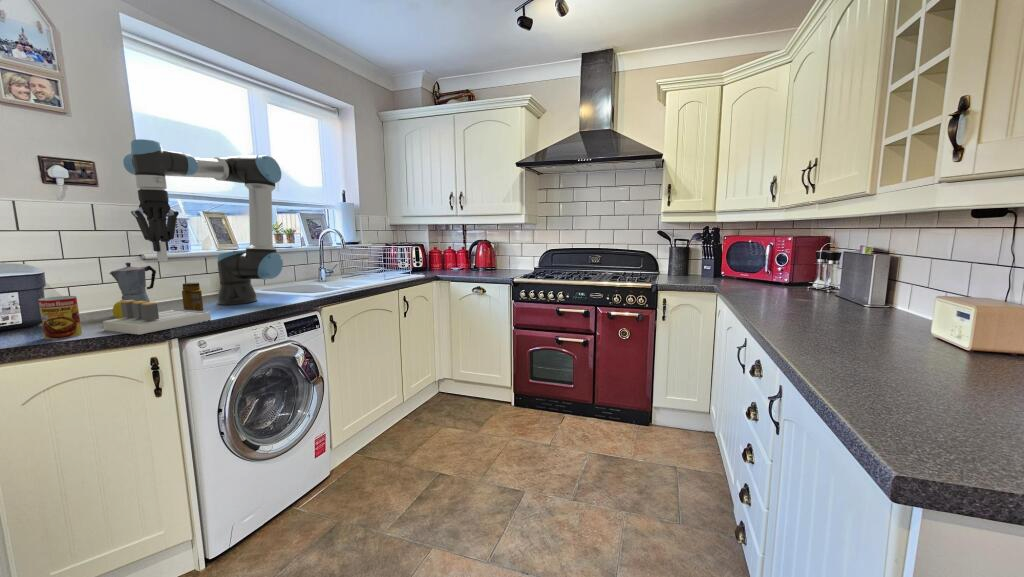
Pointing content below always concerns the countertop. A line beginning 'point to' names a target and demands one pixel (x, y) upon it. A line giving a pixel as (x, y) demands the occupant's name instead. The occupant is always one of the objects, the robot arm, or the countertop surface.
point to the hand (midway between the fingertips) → (162, 261)
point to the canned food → (60, 317)
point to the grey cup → (137, 309)
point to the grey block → (149, 311)
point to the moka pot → (133, 282)
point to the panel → (157, 321)
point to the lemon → (118, 310)
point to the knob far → (127, 308)
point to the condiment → (192, 297)
